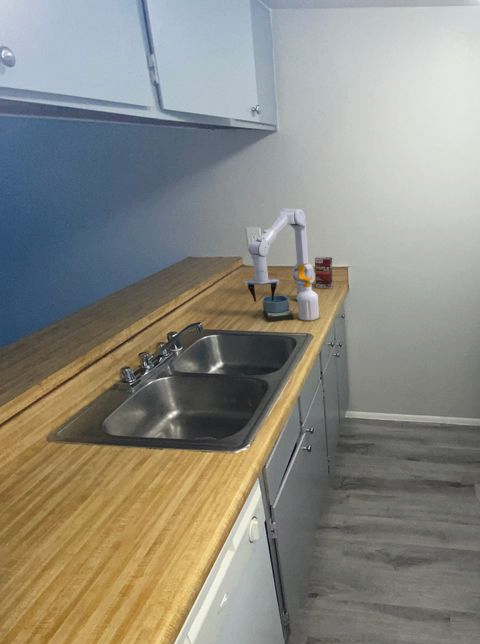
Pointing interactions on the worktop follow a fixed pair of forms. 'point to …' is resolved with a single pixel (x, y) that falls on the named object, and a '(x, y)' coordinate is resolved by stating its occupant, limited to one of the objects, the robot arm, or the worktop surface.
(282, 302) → the bowl
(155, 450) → the worktop surface
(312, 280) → the robot arm
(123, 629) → the worktop surface
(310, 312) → the spray bottle
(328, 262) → the supplement box
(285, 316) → the scale
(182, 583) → the worktop surface
